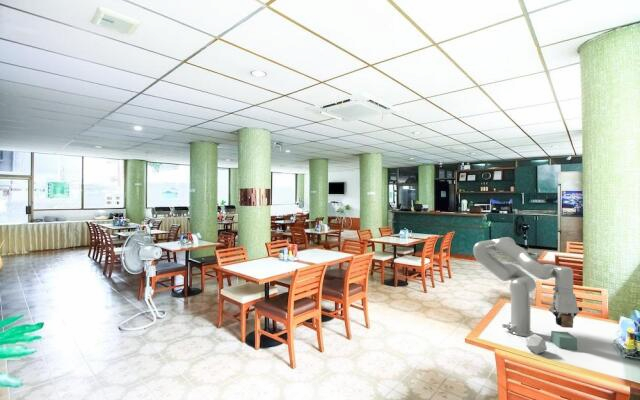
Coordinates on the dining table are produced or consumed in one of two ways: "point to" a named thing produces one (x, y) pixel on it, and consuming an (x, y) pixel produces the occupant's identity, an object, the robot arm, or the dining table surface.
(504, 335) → the dining table surface
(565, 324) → the walnut block
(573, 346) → the base block
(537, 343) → the die
